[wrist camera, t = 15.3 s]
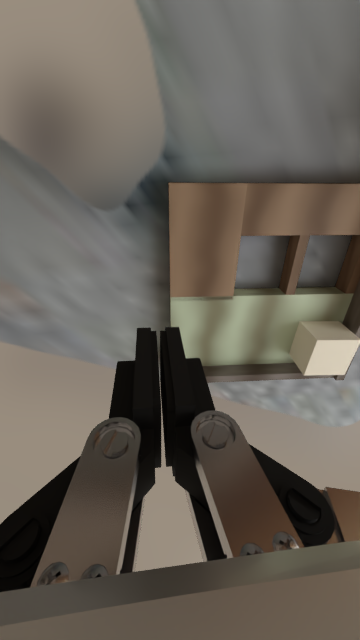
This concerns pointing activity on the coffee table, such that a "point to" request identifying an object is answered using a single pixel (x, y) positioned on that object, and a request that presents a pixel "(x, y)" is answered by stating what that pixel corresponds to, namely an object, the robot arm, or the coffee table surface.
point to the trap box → (256, 303)
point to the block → (323, 347)
